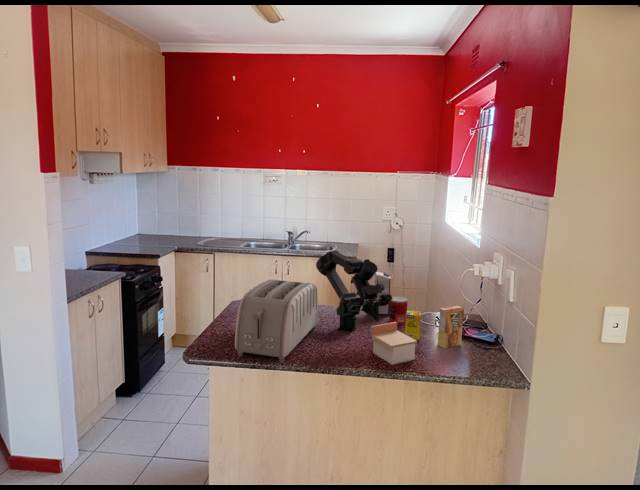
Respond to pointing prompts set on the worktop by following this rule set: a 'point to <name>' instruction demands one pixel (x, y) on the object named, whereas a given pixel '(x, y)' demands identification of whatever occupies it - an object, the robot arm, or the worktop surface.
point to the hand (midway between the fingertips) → (377, 321)
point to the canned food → (398, 310)
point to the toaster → (276, 317)
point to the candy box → (450, 326)
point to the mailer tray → (395, 353)
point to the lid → (389, 336)
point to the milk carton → (387, 285)
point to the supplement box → (413, 324)
